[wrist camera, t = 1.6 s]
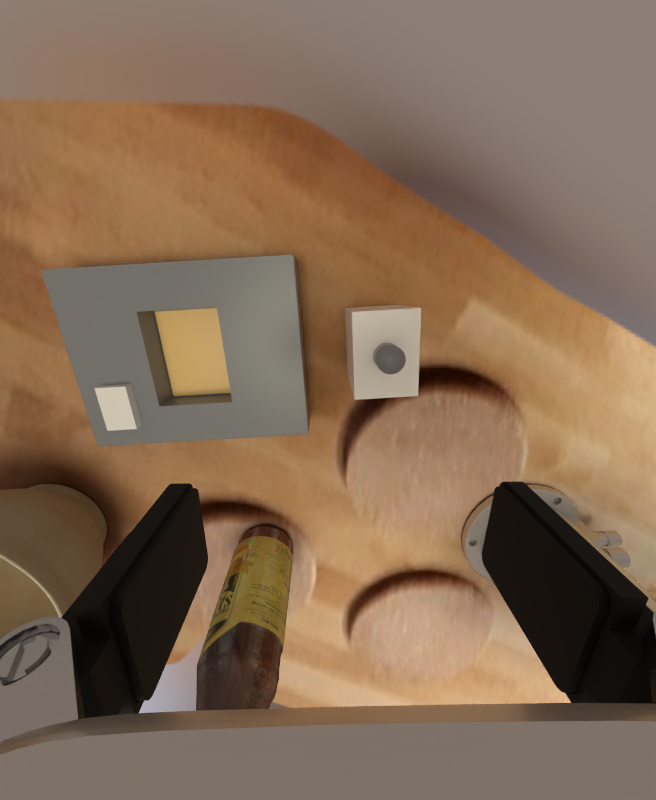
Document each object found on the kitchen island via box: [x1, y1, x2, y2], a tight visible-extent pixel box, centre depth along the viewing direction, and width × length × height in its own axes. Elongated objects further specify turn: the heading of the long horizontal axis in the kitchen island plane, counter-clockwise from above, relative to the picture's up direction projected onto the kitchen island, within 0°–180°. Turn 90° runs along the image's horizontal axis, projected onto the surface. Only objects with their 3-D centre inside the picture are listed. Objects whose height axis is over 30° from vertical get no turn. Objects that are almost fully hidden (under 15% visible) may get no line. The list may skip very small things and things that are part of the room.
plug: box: [345, 305, 421, 400], centre depth 24 cm, size 4×6×9 cm
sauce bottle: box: [196, 526, 293, 711], centre depth 25 cm, size 6×6×20 cm
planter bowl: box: [0, 484, 107, 639], centre depth 28 cm, size 16×16×11 cm
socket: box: [41, 255, 310, 446], centre depth 26 cm, size 18×14×4 cm
